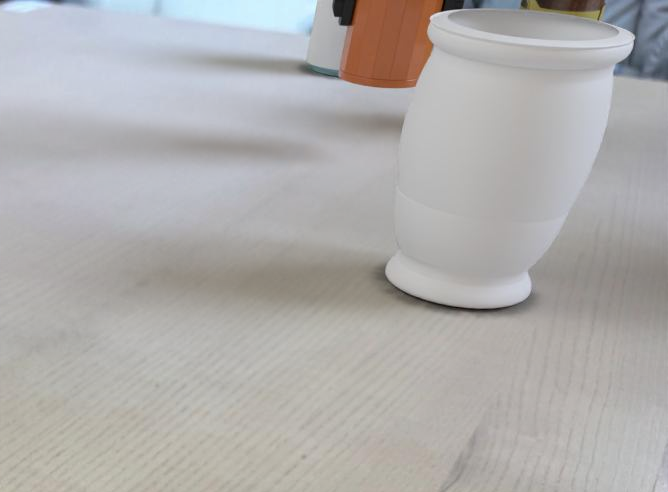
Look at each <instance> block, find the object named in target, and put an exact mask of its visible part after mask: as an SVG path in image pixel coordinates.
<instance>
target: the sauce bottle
mask: <svg viewBox="0 0 668 492" xmlns="http://www.w3.org/2000/svg"><path fill="white" fill-rule="evenodd" d="M605 8H606V0H521V1H520V5H519V8H518V9H521V10H534V11H544V12H552V13H560V14H567V15H573V16H578V17H584V18H589V19H593V20H597V21H601V22H602V18H603V14H604V11H605Z"/></svg>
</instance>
